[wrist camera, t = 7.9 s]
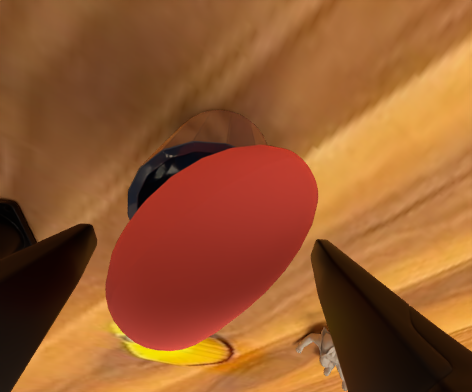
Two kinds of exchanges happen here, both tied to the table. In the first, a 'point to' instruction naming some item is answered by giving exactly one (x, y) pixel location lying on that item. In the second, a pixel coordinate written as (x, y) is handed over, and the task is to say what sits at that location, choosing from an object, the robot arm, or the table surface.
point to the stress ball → (209, 245)
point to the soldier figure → (324, 352)
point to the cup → (191, 150)
